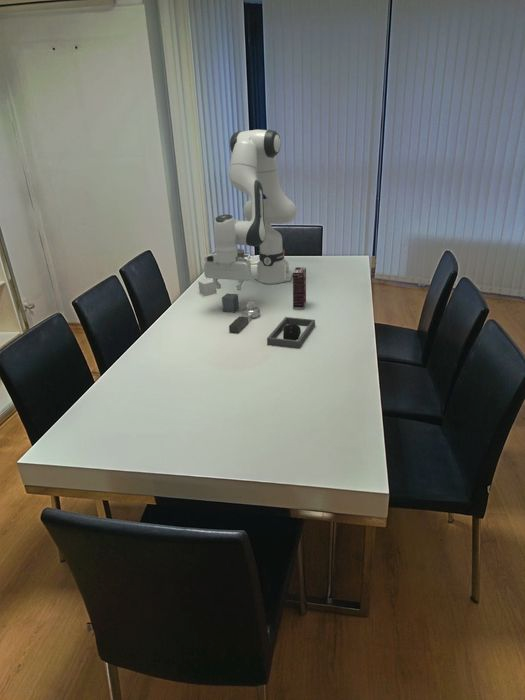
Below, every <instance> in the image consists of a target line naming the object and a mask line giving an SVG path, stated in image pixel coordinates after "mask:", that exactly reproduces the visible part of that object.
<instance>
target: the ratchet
mask: <svg viewBox="0 0 525 700" xmlns="http://www.w3.org/2000/svg"><path fill="white" fill-rule="evenodd" d="M260 312H261V310H260V307H259V306H256V303H255V301H251V300H250V301H247V303H246V307H245V306H244V307H243V308H242V315H241V316H238V317H237V318H236V319H235V320H234V321H233V322H231V323H230V324H229V326H228V330H229V331H228V332H229V334H240V333H241V332H242V331H243V330H244V329H245V328H246V327H247V326H248V325H249V323H250V322H252V320H256V319H259V318H260V316H261V314H260Z"/></svg>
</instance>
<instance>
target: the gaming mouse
mask: <svg viewBox="0 0 525 700" xmlns="http://www.w3.org/2000/svg"><path fill="white" fill-rule="evenodd" d="M300 326H301V325H292V324H287V325H286V326H285V327H284V329H283V330H282V331H283V336H282V339H288V340H298V339H299V337H300V336H301V327H300Z"/></svg>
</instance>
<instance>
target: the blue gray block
mask: <svg viewBox="0 0 525 700" xmlns="http://www.w3.org/2000/svg"><path fill="white" fill-rule="evenodd" d="M239 303H240V301H239V294H237V293H227V292H226V294H224V295H223V296H222V297H221V304H222V313H231V314H234V313H236V312H237V311H239V309H240V304H239Z"/></svg>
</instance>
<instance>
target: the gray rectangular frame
mask: <svg viewBox="0 0 525 700" xmlns="http://www.w3.org/2000/svg"><path fill="white" fill-rule="evenodd" d="M289 324H290V325H298V326H304V327H306V328H305V329H304V330H303V332H302V333H301V334H300V335H299V338H298V339H297V340H288V339H283V338H279V337H278V336H279V335H280V333H281V332H282V331H284V327H285V326H287V325H289ZM315 327H316V320H315V319H311V318H302V317H300V318H299V317H289V316H285V317H284V318H283V319H282V321H280V322H279V323H278V325H277V326H276V327H275V328H274V330H273V331H272V332H271V333H270V334H269V335H268V336H267V338H266V342H267V343H266V344H267V346H275V347H276V346H277V347H283V346H284V348H293V349H300V348H301V347H302V346H303V344H304V342H305V341H306V340H307V338H308V336H309V335H310V334H311V332H312V331H313V330H314V328H315Z"/></svg>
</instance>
